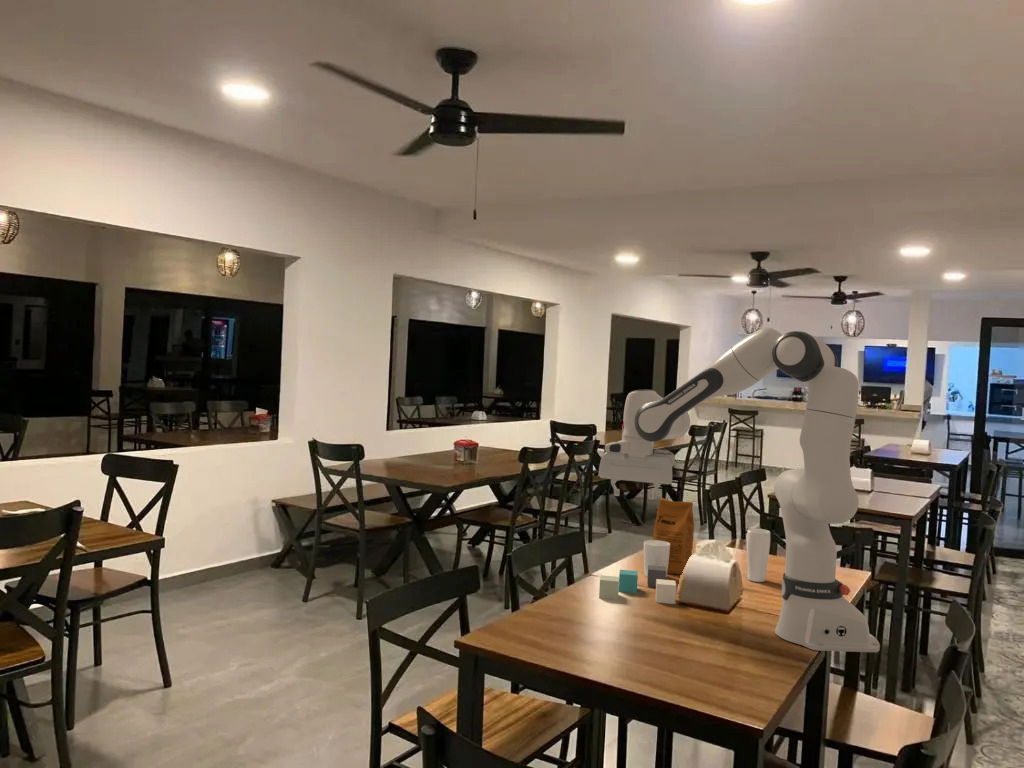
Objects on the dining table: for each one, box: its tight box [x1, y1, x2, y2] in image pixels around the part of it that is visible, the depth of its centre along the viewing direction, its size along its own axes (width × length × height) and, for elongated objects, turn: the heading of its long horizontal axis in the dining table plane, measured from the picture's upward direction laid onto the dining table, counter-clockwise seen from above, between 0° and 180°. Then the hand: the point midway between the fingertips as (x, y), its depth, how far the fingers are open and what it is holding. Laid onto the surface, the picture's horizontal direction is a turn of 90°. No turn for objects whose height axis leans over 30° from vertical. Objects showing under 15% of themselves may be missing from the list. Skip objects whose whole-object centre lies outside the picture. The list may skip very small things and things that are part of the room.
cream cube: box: [655, 579, 677, 605], centre depth 204 cm, size 5×5×5 cm
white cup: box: [643, 539, 670, 578], centre depth 229 cm, size 8×8×10 cm
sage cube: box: [598, 574, 620, 601], centre depth 205 cm, size 5×5×5 cm
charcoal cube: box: [646, 565, 667, 588], centre depth 219 cm, size 5×5×5 cm
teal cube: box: [618, 569, 639, 594], centre depth 212 cm, size 5×5×5 cm
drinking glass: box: [746, 528, 771, 583], centre depth 229 cm, size 7×7×15 cm
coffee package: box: [652, 497, 695, 576], centre depth 237 cm, size 10×12×22 cm
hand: (633, 497), depth 211 cm, fingers open, 8 cm apart
